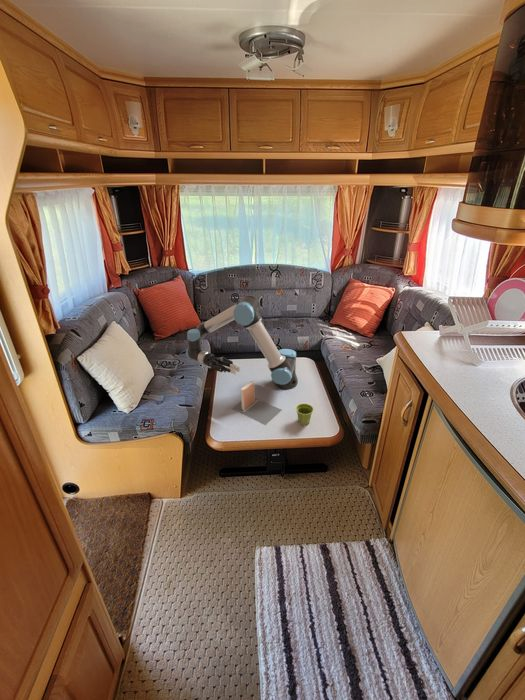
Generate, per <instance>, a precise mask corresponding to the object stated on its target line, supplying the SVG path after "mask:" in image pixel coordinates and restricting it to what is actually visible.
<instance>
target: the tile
mask: <svg viewBox="0 0 525 700" xmlns="http://www.w3.org/2000/svg"><path fill="white" fill-rule="evenodd" d="M240 394H241V395H240V397H241V398H240V400H241V401H242V410H245V409H246V408H247V407H249V406H250V405H251V404H252V403H254V402H255V398H256V397H255V396H256V395H255V381H253V380H251V381H250V382H249V383H247V384H245V385H244V386H242V388H240ZM241 401H240V402H241Z"/></svg>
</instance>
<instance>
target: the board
mask: <svg viewBox="0 0 525 700" xmlns="http://www.w3.org/2000/svg"><path fill="white" fill-rule="evenodd" d="M231 409H232V410H234V411H236V412H237V413H239V414H242V415H243V416H246V417H248V418H250V419H253V420H254V421H256V422H259V423H260V424H261V425H265V426H266V425H268V423H270V422H271V421H272V420H273V419H274V418H275V417H276V416H277V415H279V413H280V412H282V411H283V409H282V408H278V407H277V406H275V405H272V404H270V403H267V402H266V401H264V400H261V399H259V398H256V397H255V402H254V403H252V404H251V405H250V406H249V407H247V408H246V409H245V410H242V401H240V402H239V403H237V404H236V405H234V406H233V407H232V408H231Z"/></svg>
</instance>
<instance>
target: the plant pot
mask: <svg viewBox="0 0 525 700" xmlns="http://www.w3.org/2000/svg"><path fill="white" fill-rule="evenodd" d="M295 410H296V413H297V421H298V424H301V425H303V426H306V425H309V424H310V422H311V418H312V414H313V413H314V407H313V406H312V405H311V404H309V403H300V404H297V406H295Z"/></svg>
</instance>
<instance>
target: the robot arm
mask: <svg viewBox="0 0 525 700" xmlns="http://www.w3.org/2000/svg"><path fill="white" fill-rule="evenodd" d="M260 307H261V303H260V300H259V298H257V297H256V296H255V295H252V294H247V295H244V296H243V297H242V298H241V299H239V300H237V301H236V303H235V304H234V305H232V306H229V308H227V309H225V310H224V311H221V312H220V313H218V314H216V315H215V316H213V317H211V318H210V319H208V320H207V321H204V322H201V323H200V324H198V325H197V326H196V328H191V329H189V330H188V331H187V333H186V334H187V335H186V336H187V338H186V339H187V343H188V344H187V345H188V347H187V348H186V349H185V356H186V357H187V358H188V359H190V360H193V361H196V362H198V363H200V364H203V365H205V366H207V369H208V370H213V371H216V372H219V373H226V372H227V373H230V374H232V375H236V374H237V372H238V373H239V372H240V367H239V366H237V365H235V364H234V362H233V361H232V360H230V359H229V358H227V357H225V356H224V355H222V356H221V357H219V356H218V357H217V356H216V355H215V354H213V353H212V352H208V351H206V350H203V349H202V341H203V339H204V338H205V337H206V336H207V335H210V334H211V333H213V332H214V331H217V330H218V329H220V328H222V327H224V326H226V325H228V324H230V323H231V322H232V321H235V322H236V323H237V324H238V325H240V326H242V327H243V329H247V331H248V332H249V333H250V336H251V337H252V338H253V340H254V341H255V343H256V346H258V348H259V350H260V351H261V353H262V354H263V356H264V358H265V360H266V361H267V362H268V364H267V367H268V369H269V370H270V378H271V380H272V382H273V384H274V385H275V386H276V387H277V388H279V389H282V390H283V389H284V390H290V389H293V388H295V387H296V386H297V385H298V381H299V379H298V377H297V373H296V369H297V365H296V364H297V351H295V350H293V349H292V348H291V349H290V348H282V349H278V347H277V345H276V344H275V342H274V341H273V339H272V337H271V336H270V334H269V332H268V330H267V329H266V327H265V325H264V324H263V322H262V320H263V317H262V315H261V314H260V311H259V310H260Z"/></svg>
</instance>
